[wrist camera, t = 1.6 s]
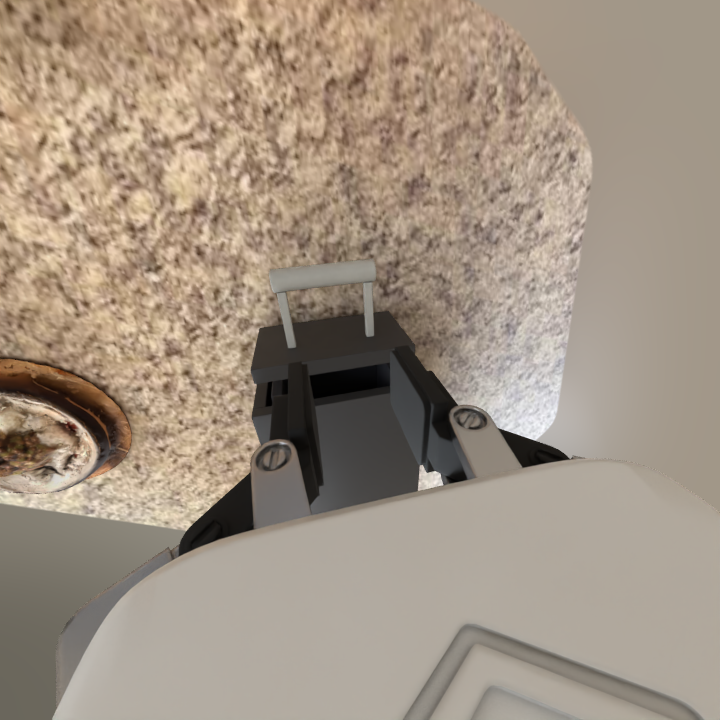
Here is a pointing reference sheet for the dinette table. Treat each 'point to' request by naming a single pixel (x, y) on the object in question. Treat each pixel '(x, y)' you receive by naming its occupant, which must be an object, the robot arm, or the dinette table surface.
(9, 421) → the bowl on brown plate
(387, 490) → the grey cabinet housing
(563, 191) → the dinette table surface
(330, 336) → the drawer
